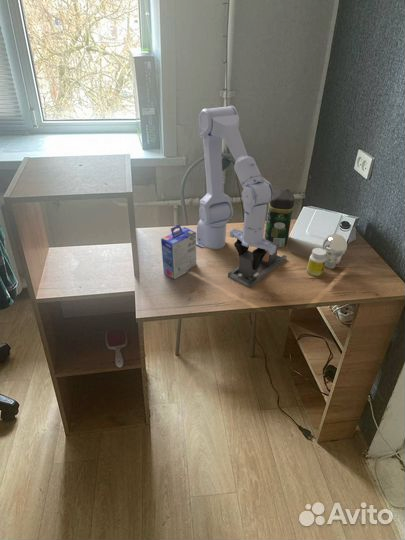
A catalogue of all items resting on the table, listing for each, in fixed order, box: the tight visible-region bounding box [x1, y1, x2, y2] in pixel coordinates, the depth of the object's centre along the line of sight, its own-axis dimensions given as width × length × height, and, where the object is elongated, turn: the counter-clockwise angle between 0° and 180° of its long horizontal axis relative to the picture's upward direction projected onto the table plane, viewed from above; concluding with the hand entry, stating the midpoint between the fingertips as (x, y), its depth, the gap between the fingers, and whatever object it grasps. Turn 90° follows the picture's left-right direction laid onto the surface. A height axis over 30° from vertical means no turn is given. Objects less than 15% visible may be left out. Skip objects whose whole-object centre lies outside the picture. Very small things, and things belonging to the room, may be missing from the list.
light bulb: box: [322, 233, 348, 270], centre depth 119 cm, size 7×7×12 cm
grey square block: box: [238, 250, 258, 278], centre depth 115 cm, size 4×5×6 cm
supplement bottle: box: [306, 247, 326, 277], centre depth 118 cm, size 5×5×8 cm
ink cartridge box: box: [160, 224, 197, 280], centre depth 116 cm, size 10×6×14 cm, turn 137°
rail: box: [227, 254, 287, 289], centre depth 120 cm, size 8×20×2 cm, turn 139°
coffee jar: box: [264, 187, 295, 248], centre depth 130 cm, size 10×8×19 cm
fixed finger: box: [261, 240, 279, 266], centre depth 122 cm, size 4×5×6 cm
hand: (249, 265), depth 115 cm, fingers closed on grey square block, 4 cm apart
